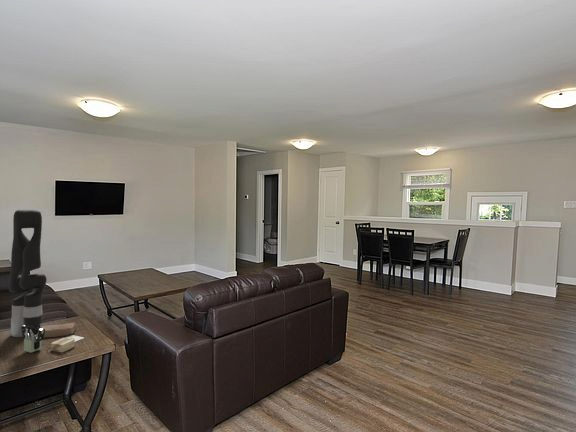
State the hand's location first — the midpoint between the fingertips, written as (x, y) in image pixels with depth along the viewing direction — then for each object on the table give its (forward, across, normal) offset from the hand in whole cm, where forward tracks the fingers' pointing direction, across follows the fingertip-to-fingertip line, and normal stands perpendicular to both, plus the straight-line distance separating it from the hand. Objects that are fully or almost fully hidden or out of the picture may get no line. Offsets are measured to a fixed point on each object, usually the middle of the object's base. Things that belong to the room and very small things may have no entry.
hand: (32, 347), depth 166 cm
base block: (+2, +10, +8) cm, 13 cm away
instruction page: (+2, +4, +17) cm, 17 cm away
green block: (+1, 0, 0) cm, 1 cm away
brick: (+2, -10, +20) cm, 22 cm away
